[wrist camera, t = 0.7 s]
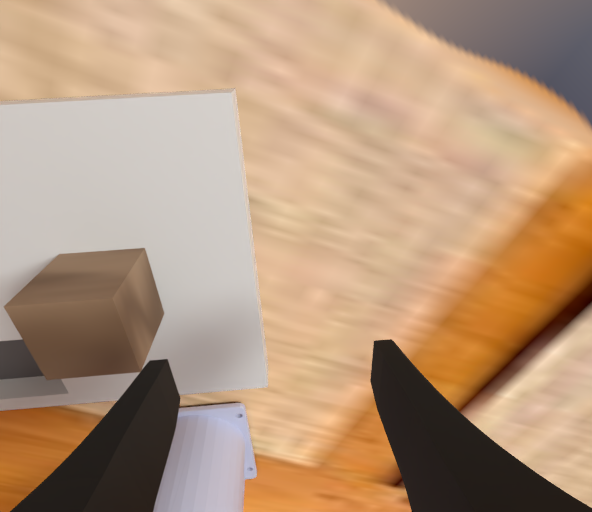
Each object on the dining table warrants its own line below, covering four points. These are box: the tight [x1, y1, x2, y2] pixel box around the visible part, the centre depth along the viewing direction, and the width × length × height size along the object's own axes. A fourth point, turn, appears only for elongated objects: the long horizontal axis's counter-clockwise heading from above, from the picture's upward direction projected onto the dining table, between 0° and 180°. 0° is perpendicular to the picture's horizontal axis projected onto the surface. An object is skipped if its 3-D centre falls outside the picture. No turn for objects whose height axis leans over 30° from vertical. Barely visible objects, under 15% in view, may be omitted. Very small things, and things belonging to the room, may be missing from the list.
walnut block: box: [4, 248, 164, 380], centre depth 16 cm, size 4×4×4 cm
